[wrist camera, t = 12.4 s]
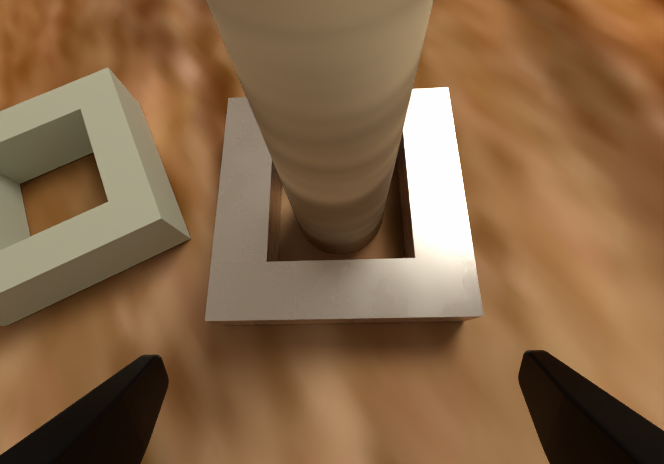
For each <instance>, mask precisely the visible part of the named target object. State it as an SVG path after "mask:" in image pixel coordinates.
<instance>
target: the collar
mask: <svg viewBox="0 0 664 464" xmlns="http://www.w3.org/2000/svg"><path fill="white" fill-rule="evenodd" d="M93 152H94V155H95V159H96V162H97V166H98V169H99V172H100V176H101V179H102V182H103V186H104V189H105V192H106V196H107V199H108V202H106V203H104V204H102V205H100V206H98V207H95V208H93V209H91V210H89V211H86V212H84V213H82V214H80V215H78V216H75V217H73V218H71V219H69V220H66V221H64V222H62V223H60V224H57V225H55V226H53V227H51V228H49V229H46V230H44V231H42V232H40V233H37V234H35V235H33V236H31V237H30V233H29V228H28V223H27V218H26V213H25V208H24V203H23V198H22V193H21V188H20V184H21V183H24V182H26V181H28V180H30V179H33V178H35V177H37V176H40V175H42V174H44V173H47V172H49V171H51V170H54V169H56V168H58V167H61V166H63V165H65V164H68V163H70V162H72V161H74V160H77V159H79V158H81V157H84V156H86V155H88V154H91V153H93ZM189 239H191V238H190V236H189V233H188V230H187V228H186V225H185V222H184V220H183V217H182V214H181V212H180V209H179V206H178V204H177V201H176V198H175V196H174V193H173V191H172V188H171V185H170V183H169V180H168V177H167V175H166V172H165V169H164V167H163V164H162V161H161V159H160V156H159V154H158V151H157V148H156V146H155V143H154V140H153V138H152V135H151V132H150V130H149V127H148V124H147V122H146V119H145V116H144V114H143V111H142V109H141V106H140V104H139V103H138V102H137V101H136V99H135V98H134V97H133V96H132V95H131V94H130V92H129V91H128V90H127V89H126V88H125V87H124V85H123V84H122V83H121V82H120V81H119V80H118V78H117V77H116V76H115V75H114V74H113V73H112V71H111V70H110V69H109V68H105V69H103V70H100V71H98V72H96V73H93V74H91V75H88V76H86V77H83V78H81V79H78V80H76V81H73V82H71V83H69V84H66V85H64V86H61V87H59V88H56V89H54V90H51V91H49V92H46V93H44V94H42V95H39V96H37V97H34V98H32V99H29V100H27V101H24V102H22V103H19V104H17V105H15V106H12V107H10V108H7V109H5V110H2V111H0V326H7V325H10V324H12V323H14V322H16V321H18V320H20V319H22V318H24V317H26V316H29V315H31V314H33V313H35V312H37V311H39V310H41V309H43V308H45V307H48V306H50V305H52V304H54V303H56V302H58V301H60V300H62V299H64V298H67V297H69V296H71V295H73V294H75V293H77V292H79V291H81V290H83V289H86V288H88V287H90V286H92V285H94V284H96V283H98V282H100V281H102V280H105V279H107V278H109V277H111V276H113V275H115V274H117V273H119V272H121V271H124V270H126V269H128V268H130V267H132V266H134V265H136V264H138V263H141V262H143V261H145V260H147V259H149V258H151V257H153V256H155V255H157V254H160V253H162V252H164V251H166V250H168V249H170V248H172V247H174V246H176V245H179V244H181V243H183V242H185V241H187V240H189Z"/></svg>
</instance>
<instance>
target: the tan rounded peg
mask: <svg viewBox="0 0 664 464" xmlns="http://www.w3.org/2000/svg"><path fill="white" fill-rule="evenodd" d="M206 1H207V4H208V6H209V8H210V11H211V13H212V16H213V18H214V20H215V23H216V25H217V28H218V30H219V32H220V35H221V37H222V40H223V42H224V45H225V47H226V49H227V52H228V54H229V57H230V59H231V61H232V64H233V66H234V69H235V71H236V73H237V76H238V78H239V81H240V83H241V86H242V88H243V90H244V93H245V95H246V98H247V100H248V102H249V105H250V107H251V110H252V112H253V114H254V117H255V119H256V122H257V124H258V126H259V129H260V131H261V134H262V136H263V139H264V141H265V143H266V146H267V148H268V151H269V153H270V155H271V158H272V160H273V163H274V165H275V167H276V170H277V172H278V175H279V177H280V180H281V182H282V184H283V187H284V189H285V192H286V194H287V196H288V199H289V201H290V204H291V206H292V208H293V211H294V213H295V216H296V218H297V220H298V223H299V225H300V228H301V230H302V232H303V234H304V235H305V237H306V238H307V239H308V241H309V242H310V243H312V244H313V245H314V246H315V247H317V248H319V249H321V250H323V251H326V252H329V253H334V254H345V253H350V252H354V251H357V250H359V249H361V248H363V247H364V246H366V245H367V244H368V243H369V242H370V241H372V239H373V238H374V237H375V236H376V234H377V232H378V230H379V228H380V225H381V222H382V217H383V213H384V209H385V205H386V200H387V196H388V192H389V188H390V183H391V179H392V175H393V170H394V166H395V162H396V158H397V153H398V149H399V145H400V141H401V136H402V132H403V128H404V123H405V119H406V115H407V111H408V106H409V102H410V98H411V93H412V89H413V85H414V81H415V76H416V72H417V68H418V64H419V59H420V55H421V51H422V46H423V42H424V38H425V34H426V29H427V25H428V21H429V17H430V12H431V8H432V4H433V0H206Z"/></svg>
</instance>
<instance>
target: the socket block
mask: <svg viewBox="0 0 664 464" xmlns="http://www.w3.org/2000/svg"><path fill="white" fill-rule="evenodd" d="M397 166H398V177H399V189H400V201H401V212H402V224H403V236H404V247H405V258H393V259H354V260H315V261H279V236H280V211H281V186H282V182H281V180H280V177H279V175H278V172H277V170H276V167H275V165H274V163H273V160H272V158H271V155H270V153H269V151H268V148H267V146H266V143H265V141H264V139H263V136H262V134H261V131H260V129H259V126H258V124H257V122H256V119H255V117H254V114H253V112H252V110H251V107H250V105H249V102H248V100H247V98H246V97H240V98H228V107H227V117H226V126H225V136H224V145H223V154H222V164H221V173H220V182H219V192H218V201H217V210H216V220H215V229H214V238H213V248H212V257H211V266H210V276H209V285H208V294H207V304H206V313H205V321H207V322H212V323H216V324H221V325H272V324H331V323H390V322H449V321H467V320H471V319H475V318H479V317H482V316H483V310H482V304H481V297H480V291H479V284H478V278H477V271H476V265H475V258H474V252H473V245H472V239H471V232H470V226H469V219H468V213H467V206H466V200H465V194H464V187H463V181H462V174H461V168H460V161H459V155H458V148H457V142H456V135H455V129H454V122H453V116H452V109H451V103H450V96H449V90H448V88H427V89H412V93H411V98H410V102H409V106H408V111H407V115H406V119H405V123H404V128H403V132H402V136H401V141H400V145H399V149H398V153H397Z"/></svg>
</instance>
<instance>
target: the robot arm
mask: <svg viewBox="0 0 664 464" xmlns="http://www.w3.org/2000/svg"><path fill="white" fill-rule="evenodd" d="M518 380H519V385H520V388H521V390H522V393H523V396H524V398H525V401H526V404H527V407H528V409H529V412H530V415H531V418H532V420H533V423H534V426H535V429H536V431H537V434H538V437H539V439H540V442H541V445H542V447H543V450H544V452H545V454H546V456H547V459H548V461H549V463H550V464H664V431H663V430H661V429H660V428H658V427H657V426H656V425H654V424H653V423H651V422H650V421H648V420H647V419H645V418H644V417H642V416H641V415H639V414H638V413H636V412H635V411H633V410H632V409H630V408H629V407H628V406H626V405H625V404H623V403H622V402H620V401H619V400H617V399H616V398H614V397H613V396H611V395H610V394H608V393H607V392H605V391H604V390H602V389H601V388H599V387H598V386H597V385H595V384H594V383H592V382H591V381H589V380H588V379H586V378H585V377H583V376H582V375H580V374H579V373H577V372H576V371H574V370H573V369H571V368H570V367H569V366H567V365H566V364H564V363H563V362H561V361H560V360H558V359H557V358H555V357H554V356H552V355H551V354H549V353H548V352H546V351H544V350H527V351H526V352H525V353H524V355H523V359H522V362H521V366H520V370H519V375H518ZM168 383H169V380H168V375H167V372H166V369H165V366H164V363H163V361H162V358H161V357H160V356H159V355H142V356H140V357H139V358H137V359H136V360H134V361H133V362H132V363H130V364H129V365H127V366H126V367H125V368H123V369H122V370H120V371H119V372H118V373H116V374H115V375H113V376H112V377H110V378H109V379H108V380H106V381H105V382H103V383H102V384H101V385H99V386H98V387H96V388H95V389H93V390H92V391H91V392H89V393H88V394H86V395H85V396H84V397H82V398H81V399H79V400H78V401H76V402H75V403H74V404H72V405H71V406H69V407H68V408H67V409H65V410H64V411H62V412H61V413H59V414H58V415H57V416H55V417H54V418H52V419H51V420H50V421H48V422H47V423H45V424H44V425H42V426H41V427H40V428H38V429H37V430H35V431H34V432H33V433H31V434H30V435H28V436H27V437H25V438H24V439H23V440H21V441H20V442H18V443H17V444H16V445H14V446H13V447H11V448H10V449H8V450H7V451H6V452H4V453H3V454H1V455H0V464H140V463H141V461H142V459H143V456H144V454H145V452H146V449H147V446H148V444H149V441H150V438H151V435H152V432H153V429H154V426H155V424H156V421H157V418H158V415H159V412H160V409H161V406H162V403H163V400H164V397H165V394H166V391H167V388H168Z"/></svg>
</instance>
